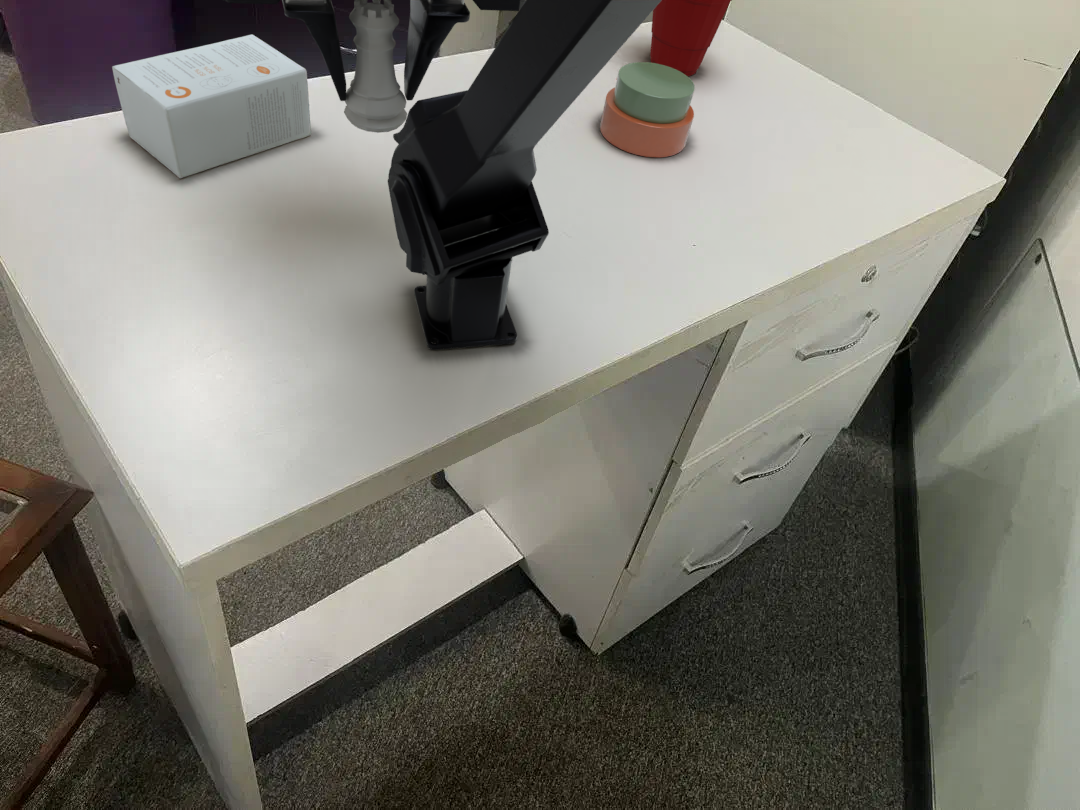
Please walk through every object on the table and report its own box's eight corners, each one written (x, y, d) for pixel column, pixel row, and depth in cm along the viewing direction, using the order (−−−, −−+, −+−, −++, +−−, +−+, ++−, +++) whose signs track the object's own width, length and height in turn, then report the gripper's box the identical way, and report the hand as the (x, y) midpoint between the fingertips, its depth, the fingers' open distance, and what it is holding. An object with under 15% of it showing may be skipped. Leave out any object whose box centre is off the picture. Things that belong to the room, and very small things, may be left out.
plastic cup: (715, 54, 97) (747, -52, 88) (720, 93, 89) (756, -19, 81) (629, 38, 96) (653, -70, 88) (628, 76, 89) (653, -38, 80)
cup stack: (699, 157, 79) (716, 102, 74) (616, 158, 76) (629, 101, 72) (666, 112, 84) (681, 59, 80) (588, 112, 82) (599, 57, 77)
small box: (260, 100, 74) (127, 137, 67) (253, 32, 70) (108, 63, 62) (313, 137, 71) (179, 180, 64) (308, 69, 66) (164, 107, 59)
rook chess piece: (396, 140, 55) (397, 23, 49) (335, 126, 55) (328, 8, 49) (414, 112, 58) (417, -2, 52) (356, 99, 58) (352, -16, 52)
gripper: (495, -188, 52) (476, 49, 63) (191, -220, 46) (230, 46, 57) (545, -139, 45) (513, 117, 56) (194, -170, 39) (238, 122, 50)
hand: (376, 98), depth 55 cm, fingers closed on rook chess piece, 4 cm apart
